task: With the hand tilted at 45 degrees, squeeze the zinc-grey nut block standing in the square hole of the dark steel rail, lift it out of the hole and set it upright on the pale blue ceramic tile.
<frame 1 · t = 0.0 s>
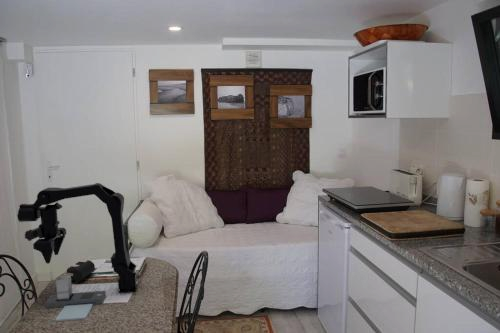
hand: (52, 259, 152), 15 cm above the table, tool pointing down, fingers open, 9 cm apart
nut block: (65, 302, 147), resting in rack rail
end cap: (81, 279, 169), on the table
tile: (75, 313, 139), on the table
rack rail: (76, 301, 148), on the table
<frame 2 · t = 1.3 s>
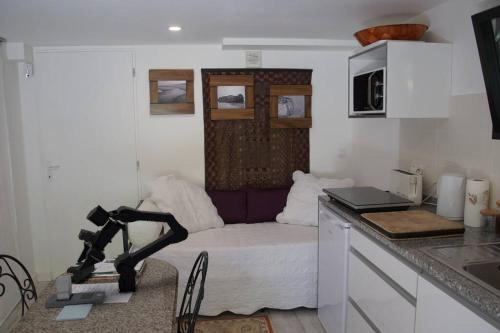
hand: (79, 266, 148), 13 cm above the table, tool tilted 45°, fingers open, 9 cm apart
nothing on the table moved.
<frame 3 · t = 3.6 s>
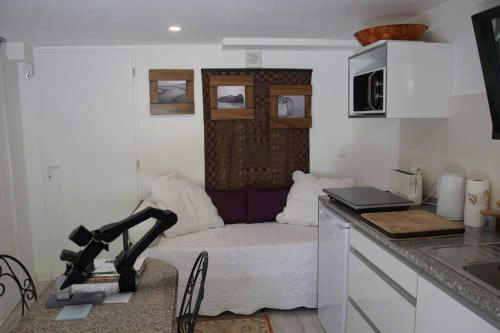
hand: (60, 286, 146), 7 cm above the table, tool tilted 45°, fingers closed on nut block, 5 cm apart
nut block: (65, 302, 147), resting in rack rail, touching gripper
everything else where it was.
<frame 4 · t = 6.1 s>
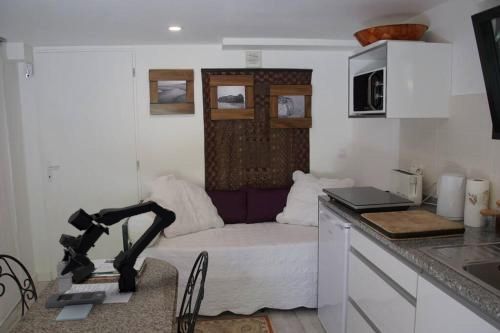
hand: (60, 272, 142), 14 cm above the table, tool tilted 45°, fingers closed on nut block, 5 cm apart
nut block: (65, 288, 144), point 7 cm above the table, touching gripper
everything else where it was.
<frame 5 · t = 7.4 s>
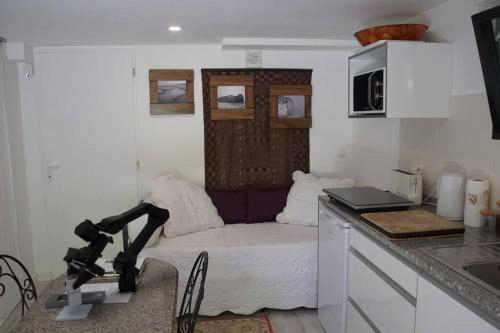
hand: (69, 287, 137), 10 cm above the table, tool tilted 45°, fingers closed on nut block, 5 cm apart
nut block: (74, 303, 139), point 4 cm above the table, touching gripper
everything else where it was.
when the fingers open (8 cm above the table, at t = 8.3 s): nut block stays where it is, resting on tile.
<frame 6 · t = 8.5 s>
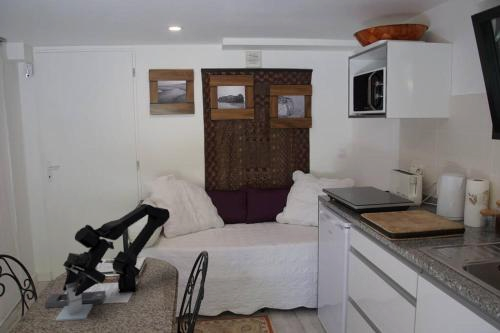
hand: (69, 293, 137), 8 cm above the table, tool tilted 45°, fingers open, 7 cm apart
nut block: (75, 311, 139), point 1 cm above the table, touching tile
everything else where it was.
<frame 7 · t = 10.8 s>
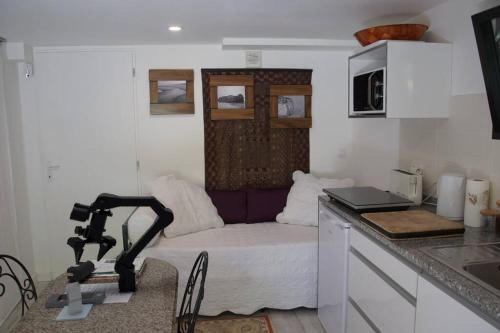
hand: (87, 262, 153), 13 cm above the table, tool tilted 15°, fingers open, 9 cm apart
nothing on the table moved.
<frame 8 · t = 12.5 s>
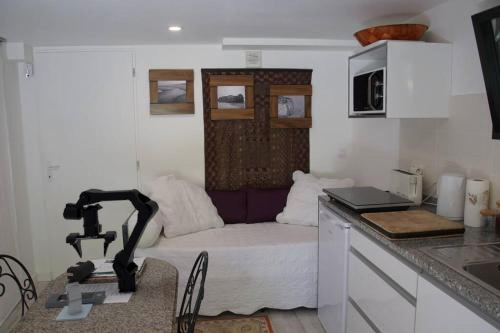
hand: (93, 257, 158), 13 cm above the table, tool pointing down, fingers open, 9 cm apart
nothing on the table moved.
at the end: nut block 0.1 cm from the tile (horizontally); nut block tilted 0°; the gripper is holding nothing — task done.
